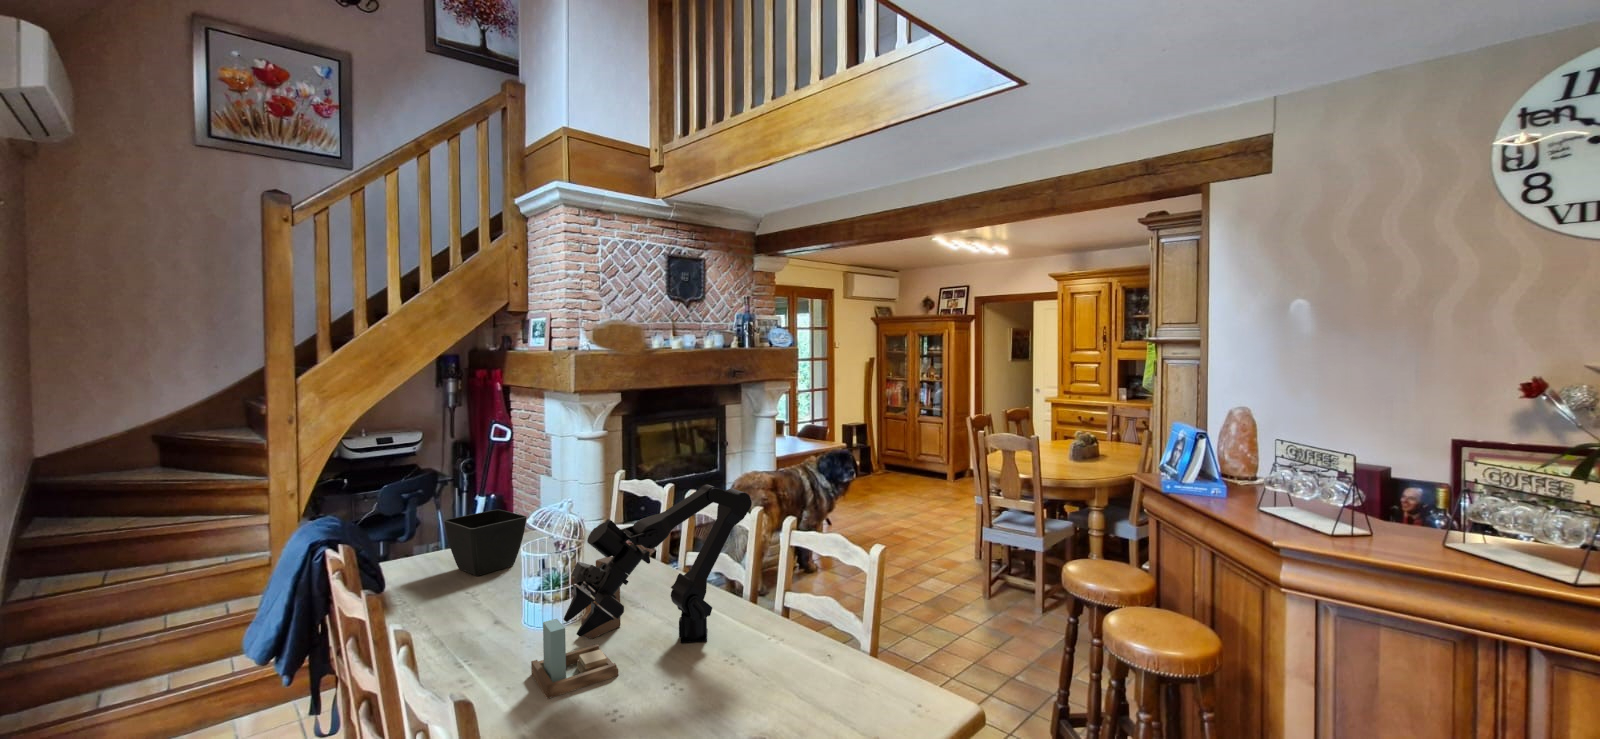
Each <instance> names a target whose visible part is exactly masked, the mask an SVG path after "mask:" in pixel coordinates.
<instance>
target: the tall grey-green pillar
mask: <svg viewBox="0 0 1600 739" xmlns="http://www.w3.org/2000/svg"><path fill="white" fill-rule="evenodd" d="M542 635H543V637H542V641H543V642H542V643H543V647H542V648H543V650H542V651H543V652H542V653H543V660H544V671H545V672H546V674H547V675H548V676H549V678H550V679H551V681H552V682H556V681H559V680H562V679H565V678H567V666H566V653H567V652H566V651H567V650H566V647H567V646H566V643H567V642H566V627H565V626H564V625H563V624H562V623H561V621H560V620H559V619H558V618H553V619H551V620H546V621H543V622H542Z"/></svg>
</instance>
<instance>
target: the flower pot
mask: <svg viewBox="0 0 1600 739" xmlns="http://www.w3.org/2000/svg"><path fill="white" fill-rule="evenodd" d="M527 518H528V517H527V516H526V515H522V514H519V513H515V512H513V511H512V512H511V511H508V510H507V511H506V510H502V509H493V510H492V509H491V510H487V511H482V512H477V513H471V514H468V515H467V514H466V515H462V516H457V517H452V518H451V517H450V518H447V519H444V520H443V523H444V529H445V533H446V538H447V541H448V545H449V548H450V550H451V554H452V557H453V559H454V561H455V564H456V566H457V568H458V570H461V571H463V572H465V573H468V574H471V575H473V576H476V577H477V576H482V575H486V574H490V573H494V572H496V571H499V570H500V571H501V570H503V569H506V568H511V567H513V566H514V565H515V563H516V560H517V558H518V555H519V552H520V549H521V545H522V542H523V538H524V535H525V531H526V523H527Z"/></svg>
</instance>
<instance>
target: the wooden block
mask: <svg viewBox="0 0 1600 739" xmlns="http://www.w3.org/2000/svg"><path fill="white" fill-rule="evenodd" d="M612 557H613V556H610V557H605V556H604V557H601V558H599V559H596V560H595V566H598V567H599V566H600V565H601V564H602V563H606V564H607V563H608V562H609V561H610V560H611V559H612ZM612 563H613V562H612ZM614 595H615V596H616V600H617V601H619V602H620V603H621V587H620V588H619V589H618V590H617V592H616V593H615V594H614ZM594 603H595V604H596V605H598V604H597V603H596V602H595V601H594ZM589 613H590V612H589ZM589 613H587V614H585V615H584V616H582V617H581V619H580V622H581V625H582V624H583V622H584V621H585V619H586V618H587V616H588V614H589ZM613 618H614V620H610V621H608V622H606V623H604V624H602V625H600V626H598V627H597V628H595V629H593V630H591V631H590V632H588V633H586V634H584V635H583V636H584V637H587V638H589V639H591V640H593V639H594V638H597V637H599V636H601V635H603V634H606V633H608V632H611V631H613V630H615V629H618V628H620V627H621V617H620V618H619V619H617V618H616V617H614V616H613ZM581 625H580V626H581Z"/></svg>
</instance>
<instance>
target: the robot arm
mask: <svg viewBox="0 0 1600 739" xmlns="http://www.w3.org/2000/svg"><path fill="white" fill-rule="evenodd" d="M713 503H715V504H718V505H717V511H716V513H717V514H716V518H715V522H714V523H713V525H712V527H711V530H710V531H709V533H708V534H707V537H706V539H705V541H704V542H703V544H702V547H701V548H700V550H699V552H698V554H697V556H696V558H695V560H694V562H693V563H692V566H691V567H690V569H689V571H687V572H686V573H685V574H684V575H683V573H681V572H680V573H678V575H677V577H676V579H675V582H673V585H672V586H671V587H670V588H671V592H670V598H671V602H672V603H673V604H674V605H675V606H676V607H677V609H678V610H679V611H680V612H681V615H680V617H679V619H678V637H679V638H680V643H681V644H686V643H687V644H688V643H701V642H703V643H705V642H707V641H708V617H710V616H711V614H712V610H713V606H711V605H710V604H709V603H708V602H707V601H705V598H706V595H707V585H708V578H709V576H710V575H711V572H712V570H713V568H714V566H715V564H716V562H717V560H718V559H719V557H720V555H721V552H722V551H723V548H724V547H725V544H726V542H727V541H728V538H729V537H730V535H731V533H732V531H733V529H734V527H735V526H737V525H738V524H739V523H740V522H741V521H743V520H744V519H745V517H746V516H747V514H748V513H749V512H750V511H751V508H752V505H753V502H752V498H751V496H750V494H748V493H747V492H744V491H741V490H738V489H736V488H728V489H725V490H724V489H721V488H718V487H716V486H713V485H710V484H704V485H702V486H701V487H700V488H699V489H698V490H696V491H695V492H693V493H691V494H690V495H688V496H687V497H685V498H684V499H682V500H680V501H678V502H677V503H675V504H674V505H672V506H671V507H669V508H668V509H666V510H664V511H662V512H660V513H656V514H652V515H649V516H646V517H644V518H641V519H638V520H637V521H636V522H635V523H634V524H633V525H630V526H627V527H625V528H624V527H623V528H620V527H618V525H616V523H615V522H614V521H613V520H611V519H609V518H607V519H606V520H605V521H604V522H602V523H599V524H598V525H597V526H596V527H594V528H593V529H592V530H591V531H590V533H589V534H588V537H587V540H586V541H587V543H588V544H589V545H590V546H591V547H592V548H593V549H595V550H596V551H597V552H599V553H600V554H601V555H602V556H604V558H605V557H610V556H611V557H612V559H611V560H610V561H609V562H608V563H607V564H606V563H602V564H601V565H600V566H599V567H598V566H596V565H593V564H588V563H584V562H580V561H577V562H576V564H575V566H574V568H573V571H572V573H571V576H572V577H574V578H573V579H572V581H573V583H572V588H573V597H572V599H571V602H570V603H569V606H568V608H567V610H566V613H565V615H564V616H563V621H564V622H566V623H568V622H569V621H570V620H572V619H574V618H576V616H578V615H579V614H580V613H581V612H582V611H584V610H586V608H588V607H589V606H590V612H589V614H588V613H587V614H588V616H587V618H586V619H585V621H584V622H583V624H582V625H580V626H579V628H578V630H577V631H576V635H577V636H578V637H579V638H580V637H582V636H584V634H586V633H588V632H590V631H591V630H593V629H595V628H597V627H598V626H600V625H602V624H604V623H606V622H608V621H610V620H614V618H613V616H614V617H616V618H617V619H619V618H620V619H621V618H622V616H623V614H624V613H625V606H624V605H623V604H622V603H621V601H620V602H619V601H617V600H616V596H615V595H614V594H615V593H616V592H617V590H618V589H619V588H620V589H621V587H622V585H625V586H627V585H628V584H629V580H627V579H628V578H629V577H630V575H631V574H632V573H633V571H634V570H635V569H636V568H637V566H638V565H639V564H640V562H641V561H643V562H644V563H646V564H647V565H649V564H651V556H650V551H649V550H652V549H656V548H657V547H658V546H659V545H660V544H662V543H663V542H664V541H665V540H666V539H667V538H668V537H669V536H670V534H671V533H672V531H673V530H674V529H676V527H678V526H679V525H680V524H682V523H684V522H685V521H688V519H689V518H692V517H693V516H694V515H696V514H697V513H699V512H701V511H702V510H703V509H705V508H707V507H708V506H710V505H711V504H713ZM627 541H628V542H630V543H631V544H630V545H629V544H628V543H627ZM639 546H642V547H643V548H645V549H641V547H639ZM648 549H649V550H648ZM612 562H613V563H612ZM574 583H575V584H574ZM595 602H596V603H597V604H598V605H596V604H595Z"/></svg>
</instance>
